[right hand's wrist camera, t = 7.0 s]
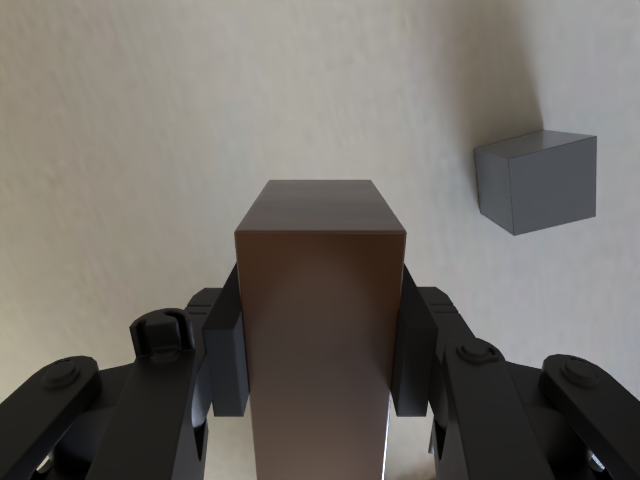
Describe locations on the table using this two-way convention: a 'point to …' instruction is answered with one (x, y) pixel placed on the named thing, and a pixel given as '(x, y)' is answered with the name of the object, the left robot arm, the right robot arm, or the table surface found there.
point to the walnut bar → (320, 326)
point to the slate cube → (537, 180)
